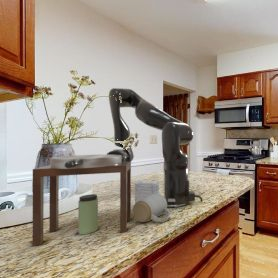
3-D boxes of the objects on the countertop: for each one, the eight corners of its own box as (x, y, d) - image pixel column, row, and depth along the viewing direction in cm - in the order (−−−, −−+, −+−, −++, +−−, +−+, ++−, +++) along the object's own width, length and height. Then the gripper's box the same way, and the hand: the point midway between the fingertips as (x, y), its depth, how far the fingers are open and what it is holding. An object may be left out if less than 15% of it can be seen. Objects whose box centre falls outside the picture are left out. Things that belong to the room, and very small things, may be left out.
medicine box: (159, 202, 86) (159, 181, 86) (153, 205, 81) (153, 184, 81) (141, 201, 87) (141, 181, 87) (134, 205, 82) (134, 183, 82)
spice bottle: (99, 226, 62) (99, 193, 62) (95, 232, 58) (95, 197, 58) (81, 229, 60) (81, 195, 60) (75, 235, 56) (75, 199, 56)
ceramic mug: (130, 222, 65) (130, 198, 65) (149, 213, 73) (149, 191, 73) (159, 226, 62) (159, 201, 62) (175, 216, 70) (175, 194, 70)
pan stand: (131, 216, 71) (132, 153, 71) (120, 248, 50) (120, 159, 50) (56, 225, 63) (56, 155, 63) (4, 269, 42) (5, 163, 42)
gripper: (97, 150, 93) (86, 152, 78) (133, 149, 99) (129, 151, 84) (97, 167, 93) (86, 172, 78) (133, 165, 99) (129, 169, 84)
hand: (108, 161), depth 81 cm, fingers open, 8 cm apart
